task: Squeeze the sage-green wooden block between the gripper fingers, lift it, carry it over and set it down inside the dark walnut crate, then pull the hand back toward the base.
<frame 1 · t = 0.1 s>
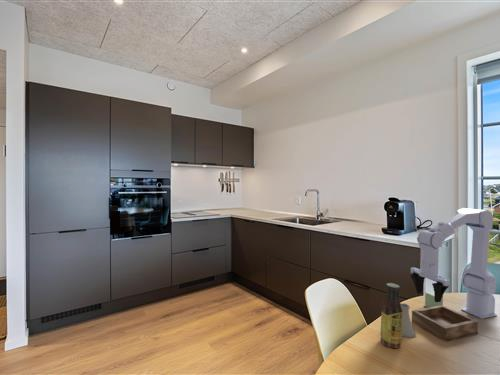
hand: (428, 297, 101), 10 cm above the table, tool pointing down, fingers open, 7 cm apart
flask: (403, 332, 95), on the table
walnut crate: (443, 327, 98), on the table
green block: (433, 307, 114), on the table
sauce bottle: (390, 344, 88), on the table
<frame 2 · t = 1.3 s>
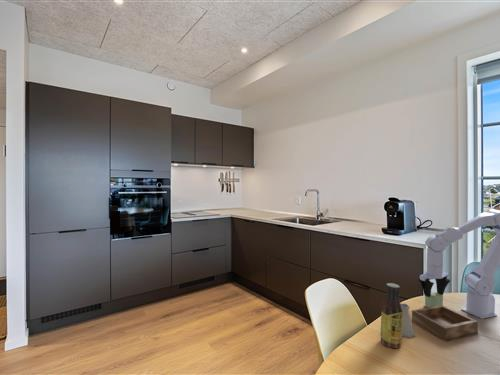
hand: (433, 295, 114), 5 cm above the table, tool pointing down, fingers open, 7 cm apart
nothing on the table moved.
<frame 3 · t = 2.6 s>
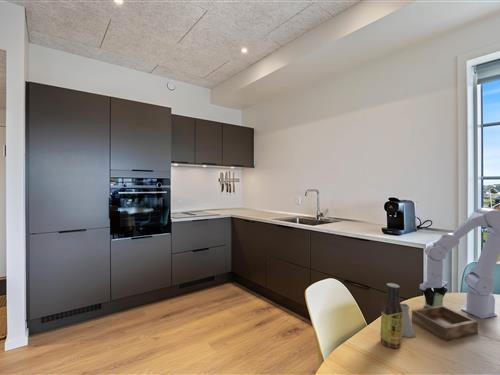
hand: (433, 304, 114), 1 cm above the table, tool pointing down, fingers closed on green block, 4 cm apart
green block: (433, 307, 114), on the table, touching gripper
everything else where it was.
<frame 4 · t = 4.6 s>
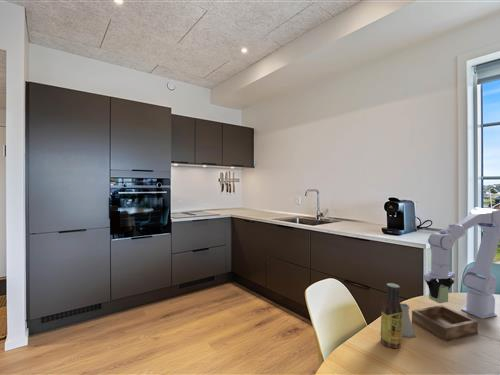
hand: (438, 296, 105), 8 cm above the table, tool pointing down, fingers closed on green block, 4 cm apart
green block: (438, 300, 106), point 7 cm above the table, touching gripper
everything else where it was.
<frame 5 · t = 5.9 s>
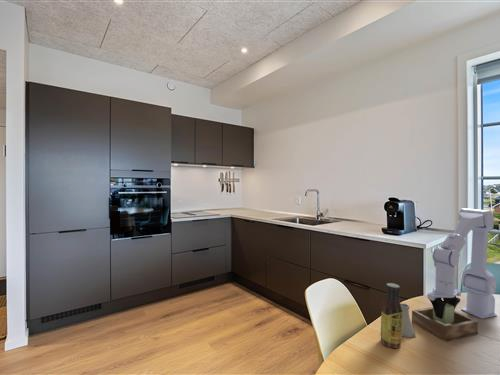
hand: (443, 316, 98), 4 cm above the table, tool pointing down, fingers closed on green block, 4 cm apart
green block: (443, 320, 98), point 3 cm above the table, touching gripper
everything else where it was.
when the fingers open (4 cm above the table, at t = 6.8 s): green block drops 2 cm, resting on walnut crate.
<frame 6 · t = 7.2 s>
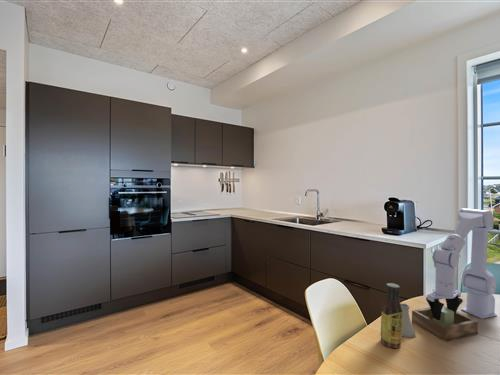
hand: (443, 317, 98), 4 cm above the table, tool pointing down, fingers open, 7 cm apart
green block: (443, 325, 98), point 1 cm above the table, touching walnut crate
everything else where it was.
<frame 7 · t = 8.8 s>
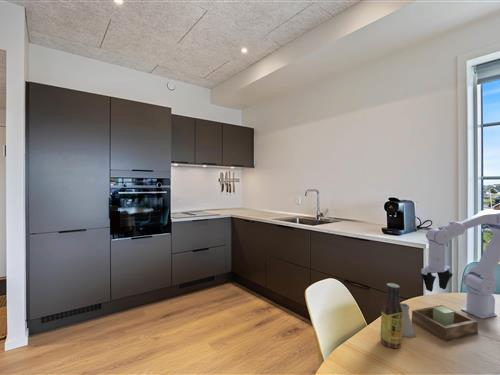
hand: (435, 289, 110), 9 cm above the table, tool pointing down, fingers open, 7 cm apart
nothing on the table moved.
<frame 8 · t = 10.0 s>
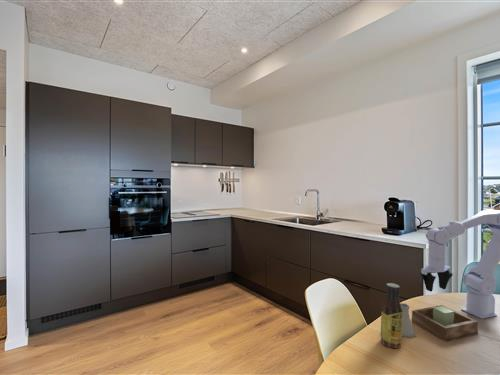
hand: (435, 289, 110), 9 cm above the table, tool pointing down, fingers open, 7 cm apart
nothing on the table moved.
at the end: green block inside the target area on the walnut crate (0.1 cm from its centre), point 0.8 cm above the walnut crate's base; the gripper is holding nothing; green block tilted 0° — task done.
